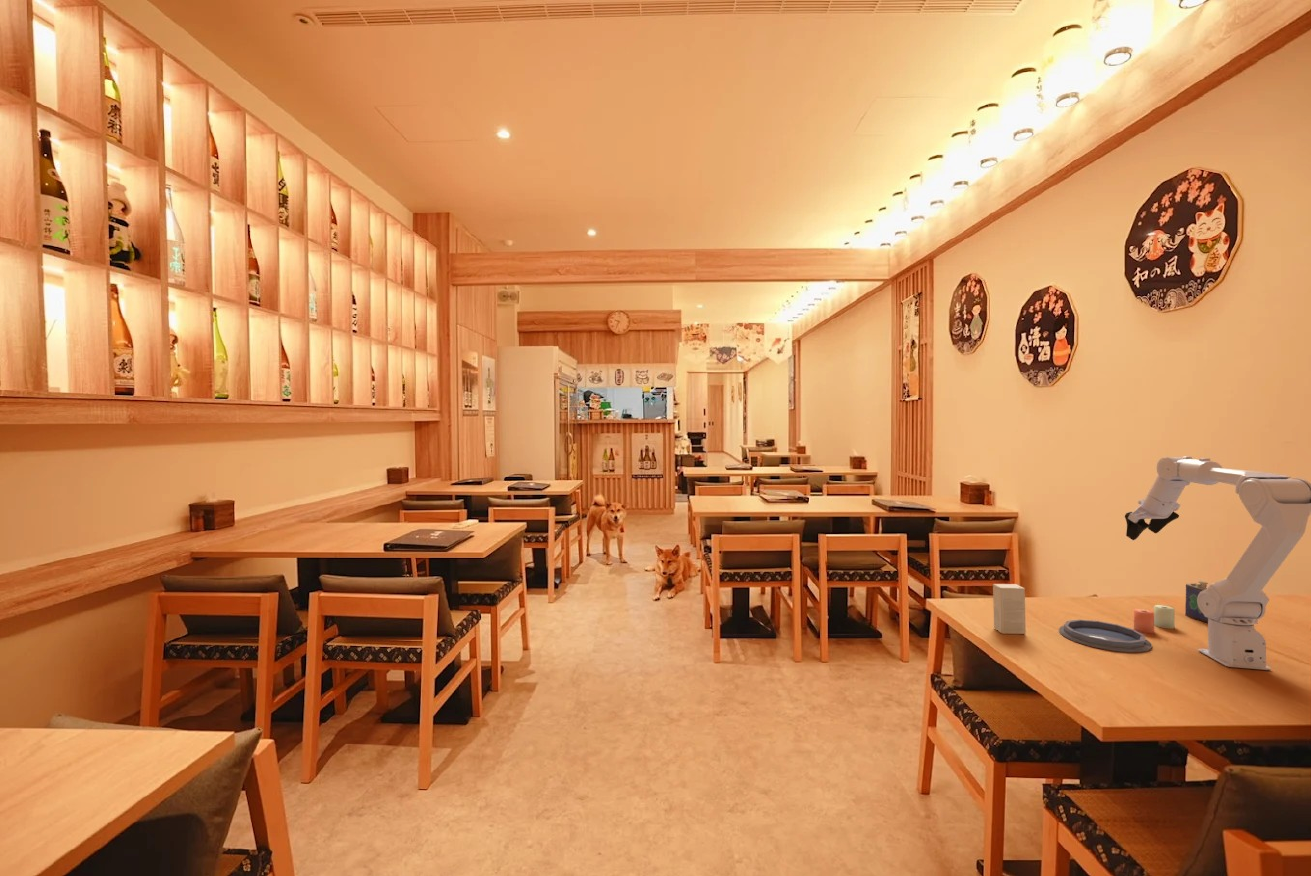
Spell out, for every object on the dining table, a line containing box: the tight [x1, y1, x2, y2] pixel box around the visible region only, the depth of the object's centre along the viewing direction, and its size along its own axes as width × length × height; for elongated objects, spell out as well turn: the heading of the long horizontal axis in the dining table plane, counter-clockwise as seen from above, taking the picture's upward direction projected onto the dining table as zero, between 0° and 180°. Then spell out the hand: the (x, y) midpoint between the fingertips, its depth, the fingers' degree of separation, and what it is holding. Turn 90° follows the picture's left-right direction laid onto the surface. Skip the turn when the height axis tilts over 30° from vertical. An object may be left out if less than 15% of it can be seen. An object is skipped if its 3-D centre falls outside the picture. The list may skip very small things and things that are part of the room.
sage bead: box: [1153, 604, 1176, 630], centre depth 147 cm, size 4×4×5 cm
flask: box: [1184, 580, 1209, 624], centre depth 151 cm, size 9×3×11 cm, turn 2°
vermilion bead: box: [1133, 608, 1155, 634], centre depth 144 cm, size 4×4×5 cm
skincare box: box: [992, 583, 1027, 635], centre depth 144 cm, size 6×4×12 cm
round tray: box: [1058, 619, 1153, 654], centre depth 138 cm, size 18×18×2 cm
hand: (1141, 534), depth 152 cm, fingers open, 7 cm apart
